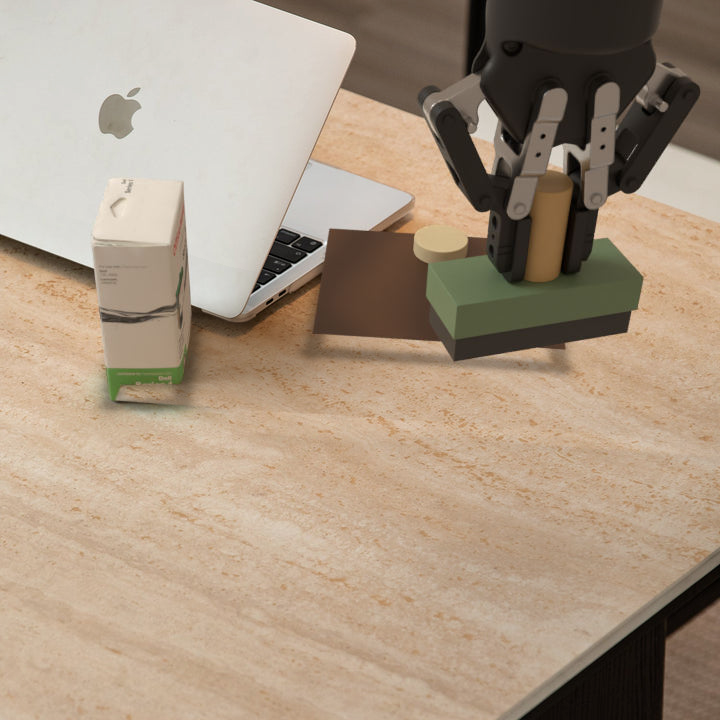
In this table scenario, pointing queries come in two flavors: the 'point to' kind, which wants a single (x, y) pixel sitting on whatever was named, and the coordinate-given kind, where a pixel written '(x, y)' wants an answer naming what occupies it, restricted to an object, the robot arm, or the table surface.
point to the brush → (533, 289)
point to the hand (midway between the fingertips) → (536, 268)
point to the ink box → (142, 282)
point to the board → (378, 286)
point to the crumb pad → (440, 243)
